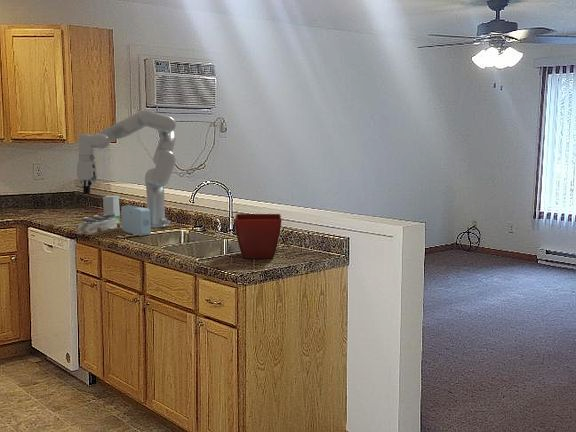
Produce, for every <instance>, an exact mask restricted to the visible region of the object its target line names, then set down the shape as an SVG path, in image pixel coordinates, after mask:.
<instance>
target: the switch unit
mask: <svg viewBox="0 0 576 432" xmlns="http://www.w3.org/2000/svg"><path fill="white" fill-rule="evenodd" d="M95 220H96V219H95ZM77 225H78V226H77V228H78V230H76V231H74V234H75V235H87V236H88V235H90V236H91V235H92V236H98V235H99V236H100V235H103V234H108V233H112V232H115V231H121V230H122V222H120V223H119V219H115V218H108V219H106V220H103V221H100V220H98V221H97V220H96V222H93V223H90V222H88V223H86V221H83V222H80V223H78V224H77Z"/></svg>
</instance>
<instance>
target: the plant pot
mask: <svg viewBox="0 0 576 432" xmlns="http://www.w3.org/2000/svg"><path fill="white" fill-rule="evenodd" d="M234 225H235V231H236V232H235V233H236V238H237V243H238V247H239V250H240V253H241V257H242V259H273V258H274V257H275V254H276V251H277V248H278V247H277V246H278V243H279V238H280V233H281V228H282V216H281V214H280V213H236V214H235V217H234Z"/></svg>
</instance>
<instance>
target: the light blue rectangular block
mask: <svg viewBox="0 0 576 432" xmlns="http://www.w3.org/2000/svg"><path fill="white" fill-rule="evenodd" d="M120 207H121V208H120V211H121V212H120V216H121V226H122V229H121V230H122V231H123V232H126V233H129V234H132V235H137V236H140V237H142V236H143V237H144V236H150V235H151V234H152V228H151V220H150V210H149V209H147V207H141V206H137V205H132V204H131V205H130V204H129V205H121V206H120Z"/></svg>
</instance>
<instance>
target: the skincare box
mask: <svg viewBox="0 0 576 432" xmlns="http://www.w3.org/2000/svg"><path fill="white" fill-rule="evenodd" d="M102 203H103V205H102V208H103V215H111V214H115V217H111V218H115V219H119V223H121V212H120V211H121V208H120V196H119V195H106V196H102Z"/></svg>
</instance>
